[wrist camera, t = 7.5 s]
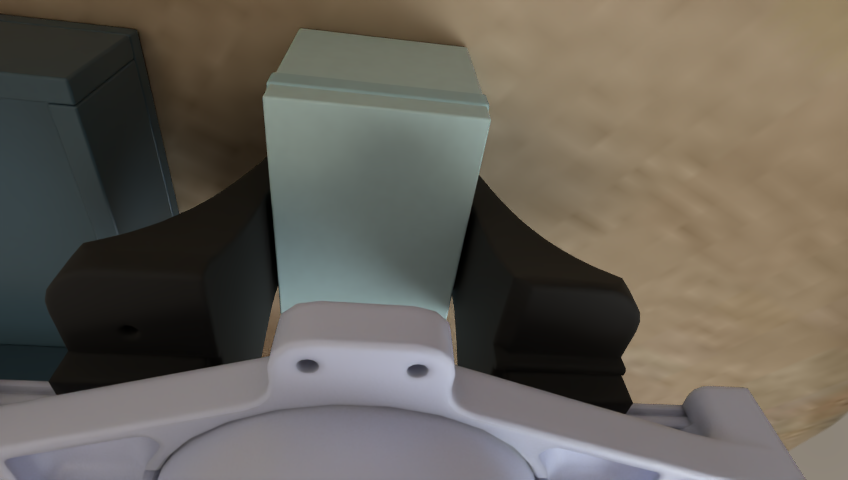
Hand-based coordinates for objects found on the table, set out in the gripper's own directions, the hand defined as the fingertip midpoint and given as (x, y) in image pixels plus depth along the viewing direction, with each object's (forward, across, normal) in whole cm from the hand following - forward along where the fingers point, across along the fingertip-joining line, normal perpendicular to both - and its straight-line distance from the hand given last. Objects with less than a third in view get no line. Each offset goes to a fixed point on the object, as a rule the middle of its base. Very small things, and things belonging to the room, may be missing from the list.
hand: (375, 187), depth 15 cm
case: (+1, 0, 0) cm, 1 cm away
